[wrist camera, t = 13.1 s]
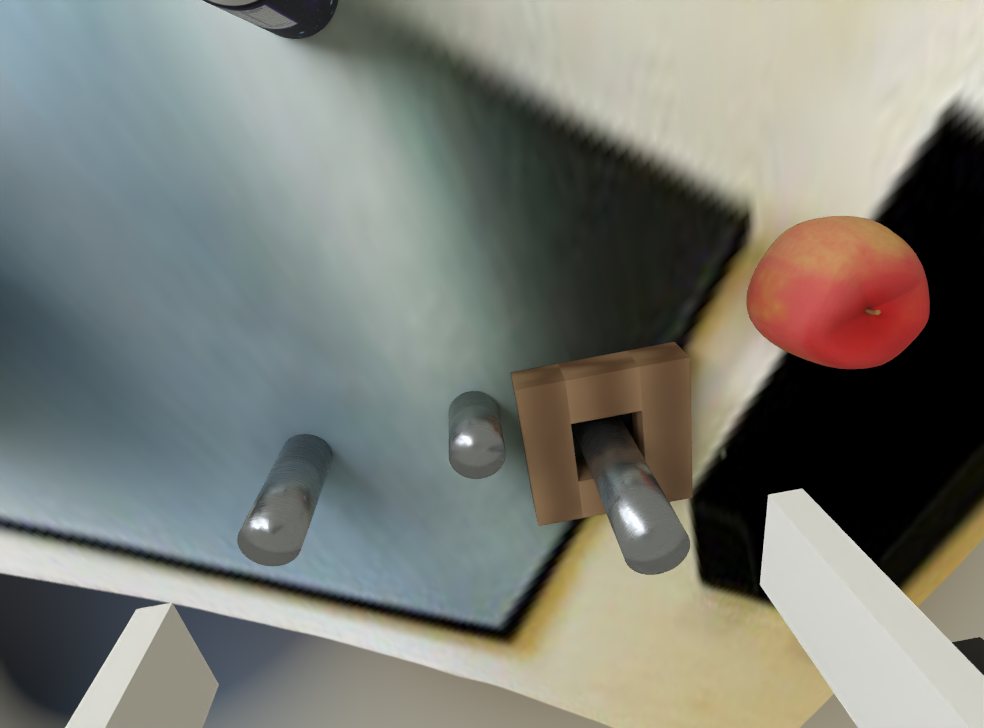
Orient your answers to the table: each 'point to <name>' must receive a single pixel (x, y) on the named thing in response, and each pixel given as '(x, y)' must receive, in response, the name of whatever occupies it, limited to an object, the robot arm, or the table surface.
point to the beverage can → (282, 14)
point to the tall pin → (632, 497)
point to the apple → (840, 293)
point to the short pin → (475, 436)
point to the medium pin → (286, 502)
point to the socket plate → (599, 394)
